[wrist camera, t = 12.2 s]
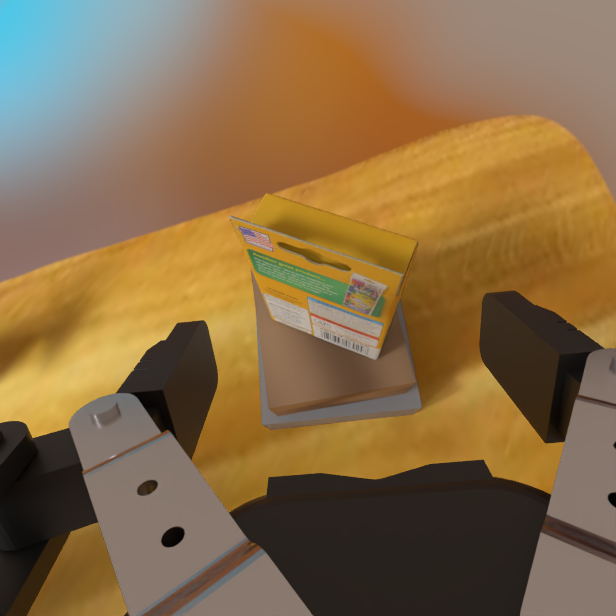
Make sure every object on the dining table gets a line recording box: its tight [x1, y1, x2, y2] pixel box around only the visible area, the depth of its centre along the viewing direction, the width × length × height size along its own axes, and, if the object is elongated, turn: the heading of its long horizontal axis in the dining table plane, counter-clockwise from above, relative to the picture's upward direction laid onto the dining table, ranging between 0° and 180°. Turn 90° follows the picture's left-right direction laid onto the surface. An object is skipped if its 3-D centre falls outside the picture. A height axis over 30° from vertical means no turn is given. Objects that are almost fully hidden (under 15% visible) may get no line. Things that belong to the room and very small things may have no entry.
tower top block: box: [251, 269, 416, 416], centre depth 28 cm, size 9×10×4 cm
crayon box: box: [229, 193, 418, 360], centre depth 21 cm, size 7×3×12 cm, turn 67°
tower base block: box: [256, 298, 422, 430], centre depth 32 cm, size 11×11×4 cm
